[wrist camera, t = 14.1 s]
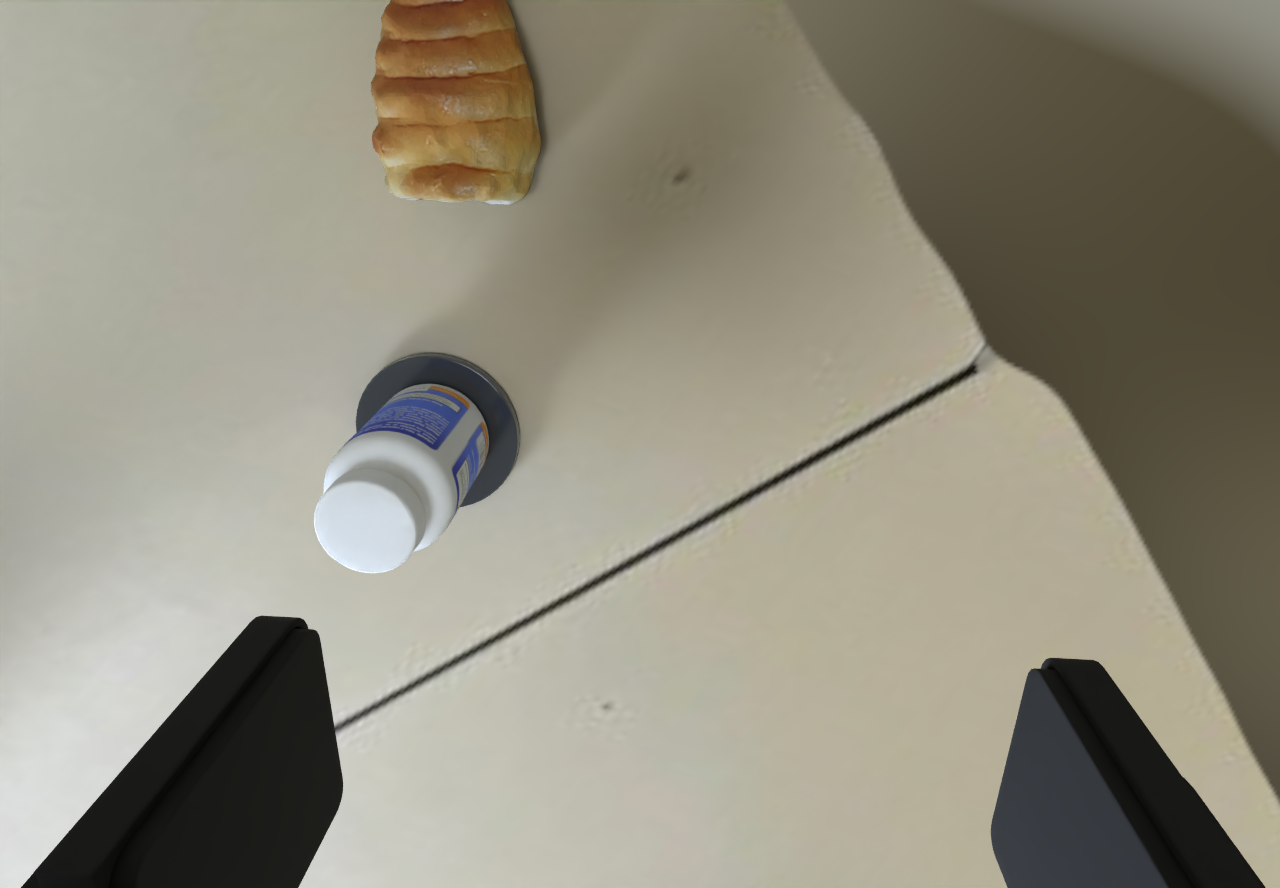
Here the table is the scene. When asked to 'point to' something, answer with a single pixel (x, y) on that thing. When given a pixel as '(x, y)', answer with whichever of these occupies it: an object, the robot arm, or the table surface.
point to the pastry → (454, 102)
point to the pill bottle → (401, 478)
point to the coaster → (471, 385)
